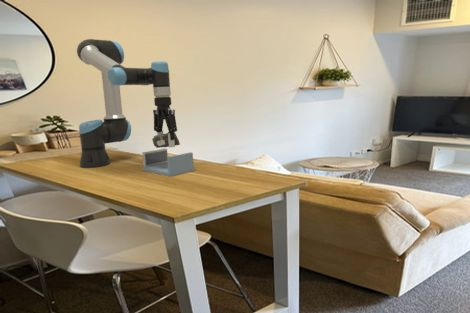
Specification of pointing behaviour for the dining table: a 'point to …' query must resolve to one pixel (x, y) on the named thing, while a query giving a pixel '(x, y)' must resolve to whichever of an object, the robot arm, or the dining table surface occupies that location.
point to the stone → (163, 140)
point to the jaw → (155, 157)
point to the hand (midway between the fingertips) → (166, 146)
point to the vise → (173, 165)
